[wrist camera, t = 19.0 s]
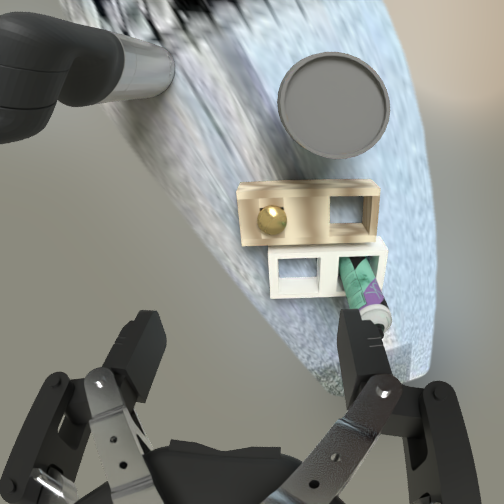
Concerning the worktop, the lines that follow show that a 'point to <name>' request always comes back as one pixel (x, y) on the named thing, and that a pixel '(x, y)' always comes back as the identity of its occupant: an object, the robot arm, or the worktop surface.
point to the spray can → (364, 291)
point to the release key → (272, 219)
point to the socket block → (307, 211)
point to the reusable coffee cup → (333, 105)
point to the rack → (322, 267)
